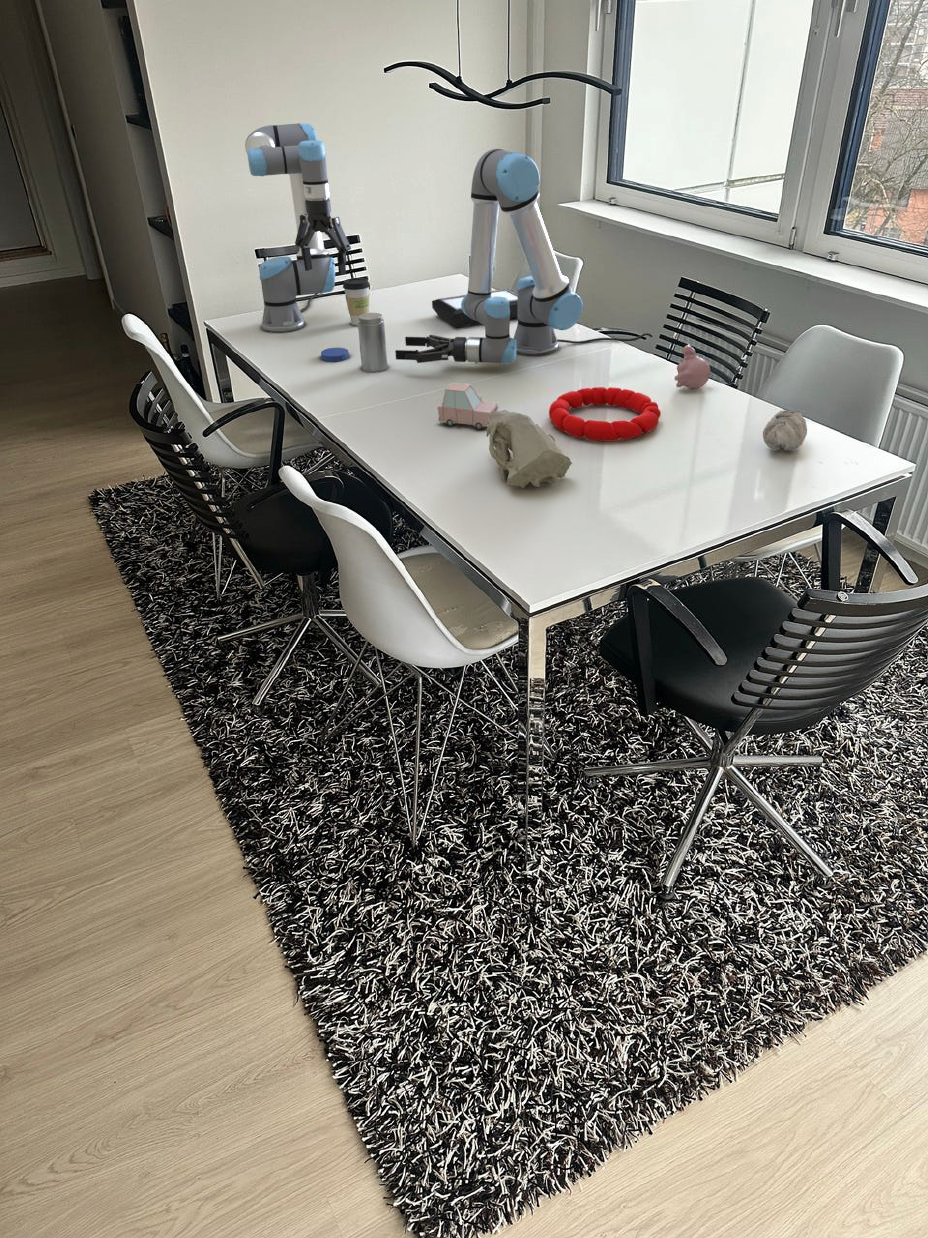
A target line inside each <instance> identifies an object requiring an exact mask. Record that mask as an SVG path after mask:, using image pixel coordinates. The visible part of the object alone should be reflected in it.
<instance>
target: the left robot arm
mask: <svg viewBox="0 0 928 1238" xmlns="http://www.w3.org/2000/svg"><path fill="white" fill-rule="evenodd" d="M244 149H245V152H246V156H247V162H248V168H249V173H250V175H251V176H252V177H265V176H266V177H267V176H277V175H289V182H290V188H291V195H292V202H293V210H294V217H295V225H296V232H297V233H296V237H295V242H294V245H295V247H299V251H298V252H297V253H296V260H292V258H291V257H290V256H277V257H272V258H269V259H267V260H264V261H263V262H261V263H260V265H259V266H258V270H259V280H260V285H261V286H260V287H261V292H262V299H263V313H262V319H261V326H262V330H264V331H265V332H271V333H286V332H293V331H296V330H297V331H298V330H300V329H302V328H304V326H305V318H304V317H303V314H302V313H303V312H304V311H306V310H308V308H309V307H310V305H311V301H312V300H313V299H314V298H315V297H317V295H323V294H327V293H332V292H333V291H334V289H335V286H336V285H335V284H336V265H335V258H333V257H332V256H330V252H329V251H328V250H327V249H326V248H325V246H324V244H325V243H324V237H323V236H324V235H323V233H324V234H325V235H326V236H327V237H328V238H329V240H330V241H331V242H332V244H333V245H334V247H335V249H336V250H337V251H338V252H336V259H337V269H338V276H343V275H345V274H347V267H346V264H347V252H348V251H350V250H351V249H352V246H351V244H350V242H349V240H348V238H347V235H346V234H345V231H344V229H343V226H342V224H341V219H340V217H339V216H335V217H332V216H331V212H332V207H331V205H332V204H331V200H330V196H331V195H330V187H329V179H328V169H327V158H326V156H327V152H326V150H325V144H324V142H323V141H322V140H319V138H318V135H317V132H316V129H315V128H314V126H313V125H312V124H311V123H300V122H298V123H287V124H270V125H269V124H268V125H264V126H261V127H259V128H257V129H255V130H253V131H252V132H251V133H250V134H248V136H247V138H246V139H245V143H244ZM309 295H312V296H311V297H310V298H309V299H308V301H307V305H305V307H303V308H301V309H300V307H299V306H298V305H299V304H298V303H297V296H309Z"/></svg>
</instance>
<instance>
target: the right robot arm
mask: <svg viewBox="0 0 928 1238" xmlns="http://www.w3.org/2000/svg"><path fill="white" fill-rule="evenodd" d="M471 180H472V181H471V190H470V200H471V201H472V203H473V210H472V211H473V212H472V222H471V223H472V226H471V237H470V238H471V240H470V253H469V254H470V255H469V267H468V268H469V269H468V283H467V294H464V295H465V296H464V298H463V300H462V302H461V308H462V311H463V312H464V314H466V315H467V316H468V317H469V318H471V319H473V320H476V321H478V322H479V323H481V325H483V326H484V330H485V331H484V335H485V336H484V337H483V336H482V337H481V336H468V337H466V336H455V337H454V338H451V337H445V336H439V335H435V334H429V335H428V336H405V337H404V339H405V340H404V342H405V346H406V347H426V348H429V347H432V348H429V349H425V350H420V351H419V350H418V349H415V350H408V349H406V350H405V349H404V350H403V349H395V351H394V352H395V360H402V361H416V363H417V364H422V363H430V362H437V361H438V362H439V361H449V357H452V358H453V361H454V362H455V363H466V362H468V363H474V364H476V365H477V364H479V363H487V364H512V363H514V362H515V361H516V358H517V354H519V355H526V356H543V355H548V354H551V353H552V354H553V353H554V352H557V350H558V349H559V348H558V347H559V343H566V344H567V343H568V344H575V345H576V344H578V345H579V344H586V343H587V344H588V343H593V342H598V341H617V342H634V341H638V340H640V339H641V338H643V337H645V336H649V337H650V338H653V337H654V335H652V334H651V333H650V332H644V333H642V334H640V335H639V336H637V337H634V338H617V337H598V338H597V337H596V338H590V339H585V340H577V341H576V340H569V339H568V340H567V339H558V338H557V334H556V331H555V330H557V331H567V330H570V329H572V327H574V326H575V325H576V324H577V323H578V322H579V320H580V317H581V316H582V313H583V310H584V309H583V308H584V307H583V301H582V298H581V297H580V295H579V294H577V293H576V292H574V291H573V289H572V286H571V283H570V281H569V278H568V277H567V276H566V275H563V274H562V273H561V270H560V267H559V264H558V261H557V257H556V255H555V252H554V249H553V245H552V243H551V241H550V238H549V234H548V232H547V231H548V230H547V229H546V226H545V223H544V220H543V217H542V215H541V214H542V213H541V212H540V211H541V210H540V208H539V205H538V203H537V202H538V199H539V197H540V191H539V184H540V180H541V176H540V170H539V168H538V166H537V164H536V162H535V161H534V160H533V159H532V158H531V157H529V156H528V155H526V154H524V153H522V152H517V151H510V150H505V149H501V148H492V149H489V150H488V151H486V152H485V153H483V154H482V155H481V156H480V158H479V159H478V161H477V163H476V165H475V167H474V170H473V174H472V179H471ZM499 210H501V212H503V213H505V214H508V216H509V219H510V221H511V224H512V227H513V229H514V233H515V236H516V238H517V241H518V243H519V246H520V249H521V251H522V254H523V257H524V260H525V261H526V265H527V268H528V271H529V273H530V275H529V276H523V277H521V278H520V279H519V280H518V282H517V289H516V293H517V294H518V318H517V325H516V329H515V332H514V335H513V337H511V333H510V324H511V322H510V321H511V319H510V308H509V300H508V299H507V298H505V297H501V296H494V297H491V291H493V289H492V288H493V278H494V267H495V258H496V257H495V256H496V245H497V233H498V221H499Z"/></svg>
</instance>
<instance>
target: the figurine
mask: <svg viewBox="0 0 928 1238" xmlns="http://www.w3.org/2000/svg"><path fill="white" fill-rule="evenodd" d="M682 354H683V358H684V359H683V361H682V362H679V363H678V364H677V365H676V372H677V375H675V376H674V381H675V382H676V381H677V382H676V384H675V386H676V388H681V387H686V388H688V389H693V390H694V389H695V390H696V389H700V388H703V387H704V386H705V385H706V384H707V383H708V382H709V379H710V377H711V367H710V364H709V362H708V361H706V359H704V358H702V357H700V356H697V353H696V350H695V349H694V347H692V345H690V344H686V345H685V346H684V347H683V348H682Z"/></svg>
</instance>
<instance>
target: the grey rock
mask: <svg viewBox="0 0 928 1238" xmlns="http://www.w3.org/2000/svg"><path fill="white" fill-rule="evenodd" d="M485 436H486V438H487V437H489V438H488V440H489V444H488V445H489V446H488V450H489V454H490V456H491V457H492V458H493V459H494V460H495V462H496V464H497V466H499V468H500V470H501V471H502V472H501V478H502V479H507V480H506V484H507V486H517V487H518V486H519V488H523V489H524V488H526V486H527V485H529V483H531V485H533V486H534V487H536V488H540V485H541V484H542V482H544V483H549V484H550V485H553V484H555V483H556V482H557V480H561V479H563V478H565V476H566V474H567V472H568V471H569V469H570V467H571V466H572V464H573V462H572V461H571V458H570V457H568V456H567V455H565V453H564V451H562V449H561V448H560V446H559V444H557V443H556V439H555V438H554V436H553V435H551V434H550V433H548V432H547V431H546V430H545V429H544V428H542V427H541V426H539V425H538V424H537V423H536V424H535V422H534V421H533V419H532V418H531V417H530V416H529V415H527V414H524V413H519V412H515V411H509V410H507V409H502V410H500V411H499V410H497V411H496V412H492V413H491V414H490V422H488V423H487V427H486V435H485ZM511 453H512V454H511ZM511 455H512V457H513V458H512V460H511ZM507 474H508V475H507Z"/></svg>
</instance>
